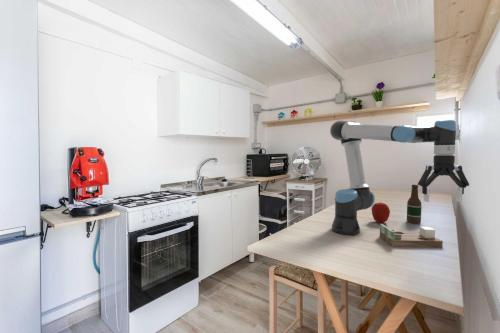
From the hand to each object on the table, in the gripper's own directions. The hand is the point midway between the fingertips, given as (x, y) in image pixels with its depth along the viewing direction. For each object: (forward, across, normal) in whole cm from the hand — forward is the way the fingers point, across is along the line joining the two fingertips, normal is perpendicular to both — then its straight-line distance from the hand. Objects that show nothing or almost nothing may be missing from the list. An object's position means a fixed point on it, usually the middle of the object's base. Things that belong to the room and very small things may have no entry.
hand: (442, 201), depth 111 cm
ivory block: (+20, 0, +10) cm, 22 cm away
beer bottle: (+23, +11, +44) cm, 50 cm away
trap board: (+23, -9, +9) cm, 26 cm away
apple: (+23, -10, +42) cm, 48 cm away
